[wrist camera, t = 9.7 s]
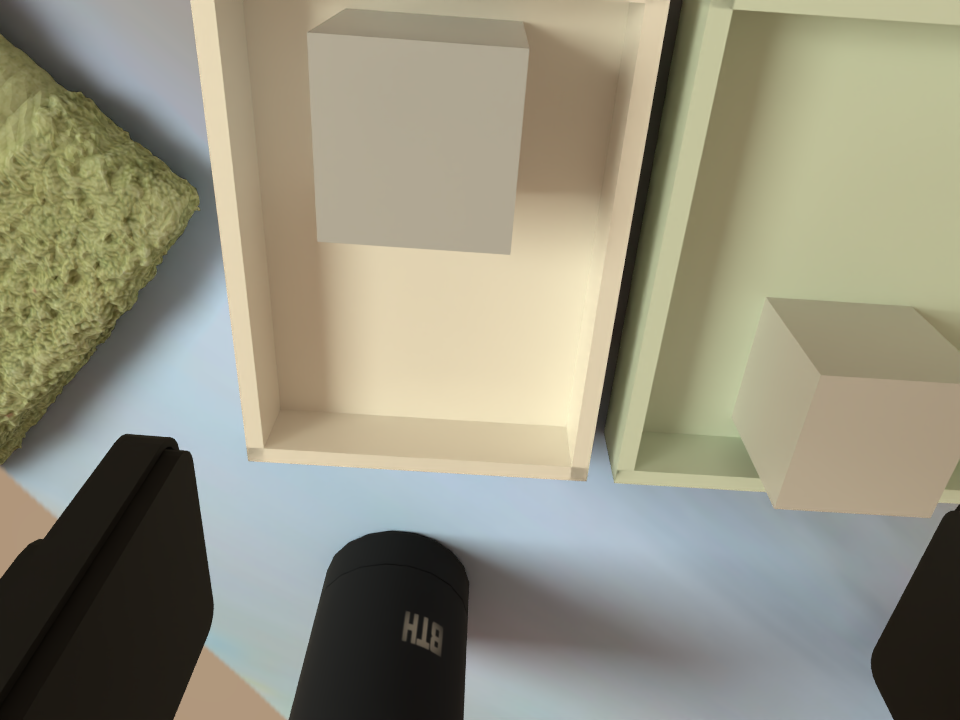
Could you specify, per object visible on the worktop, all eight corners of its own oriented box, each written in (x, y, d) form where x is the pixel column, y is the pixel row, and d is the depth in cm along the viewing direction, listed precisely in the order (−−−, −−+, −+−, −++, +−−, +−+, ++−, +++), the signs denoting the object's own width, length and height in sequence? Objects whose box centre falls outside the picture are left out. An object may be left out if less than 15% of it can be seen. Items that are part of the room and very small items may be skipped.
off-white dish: (222, -61, 21) (183, -57, 18) (652, -30, 21) (673, -23, 18) (270, 412, 29) (248, 461, 26) (578, 431, 29) (586, 481, 26)
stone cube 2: (766, 297, 25) (820, 375, 21) (911, 306, 25) (995, 386, 21) (731, 417, 28) (774, 508, 24) (863, 425, 28) (930, 517, 24)
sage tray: (687, -28, 21) (714, -20, 18) (1179, 7, 21) (1273, 20, 18) (604, 432, 29) (614, 483, 26) (958, 454, 29) (1002, 506, 27)
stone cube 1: (345, 8, 21) (307, 32, 17) (522, 21, 21) (529, 48, 17) (350, 182, 24) (317, 241, 19) (507, 193, 24) (510, 254, 19)
